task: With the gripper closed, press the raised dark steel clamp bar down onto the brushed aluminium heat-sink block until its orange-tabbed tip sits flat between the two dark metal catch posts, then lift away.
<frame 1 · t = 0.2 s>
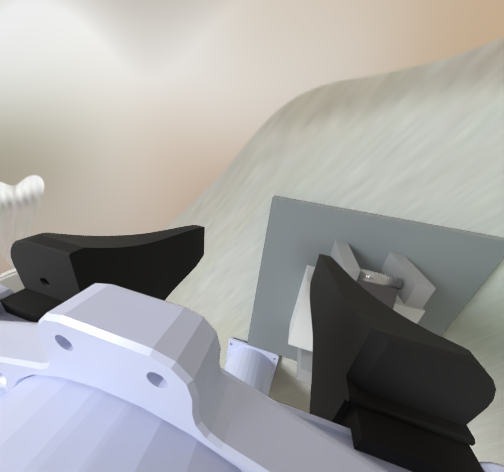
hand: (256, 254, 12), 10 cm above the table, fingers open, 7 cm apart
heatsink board: (340, 301, 23), on the table
clamp bar: (358, 358, 16), point 8 cm above the table, hinge at 22.0°
stereo radio cassette player: (71, 302, 39), on the table
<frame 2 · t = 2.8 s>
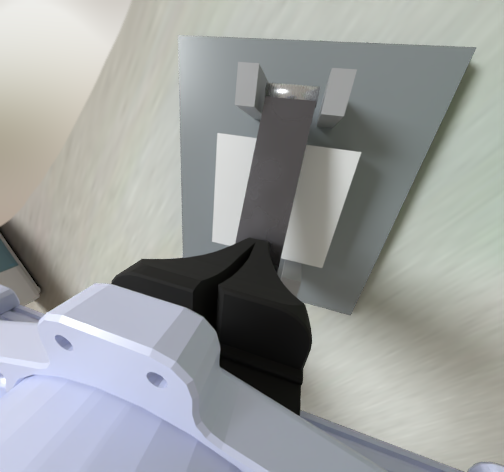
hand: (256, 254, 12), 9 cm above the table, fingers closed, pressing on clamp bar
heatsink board: (279, 195, 19), on the table
clamp bar: (267, 205, 12), point 8 cm above the table, hinge at 20.1°, touching gripper
stereo radio cassette player: (5, 246, 35), on the table
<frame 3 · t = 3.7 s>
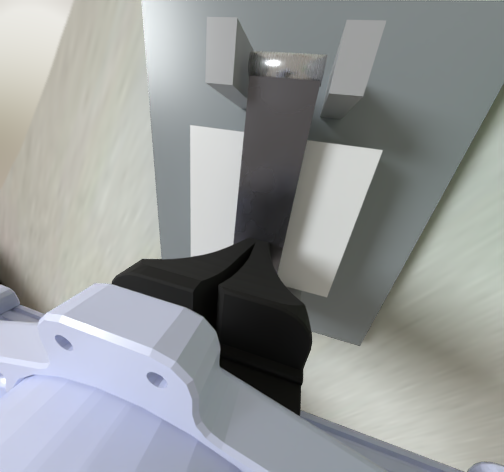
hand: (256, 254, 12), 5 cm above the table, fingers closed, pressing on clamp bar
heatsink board: (274, 203, 16), on the table
clamp bar: (261, 219, 11), point 5 cm above the table, hinge at -0.5°, touching gripper
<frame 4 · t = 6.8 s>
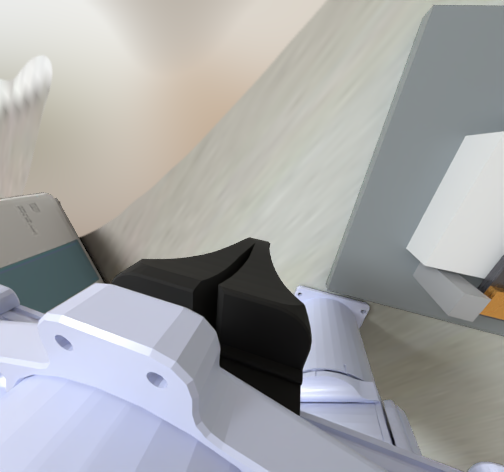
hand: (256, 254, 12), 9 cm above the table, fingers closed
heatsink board: (493, 207, 16), on the table
stereo radio cassette player: (81, 257, 32), on the table
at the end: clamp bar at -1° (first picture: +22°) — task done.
